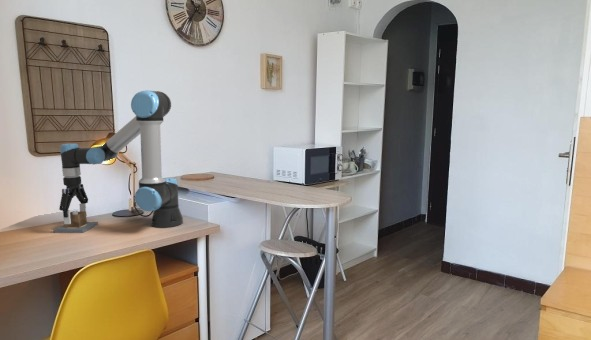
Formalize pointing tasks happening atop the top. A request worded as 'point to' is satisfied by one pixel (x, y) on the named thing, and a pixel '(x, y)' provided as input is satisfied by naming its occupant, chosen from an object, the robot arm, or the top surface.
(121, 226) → the top surface
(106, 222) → the top surface
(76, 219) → the collar
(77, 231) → the post block
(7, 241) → the top surface
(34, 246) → the top surface
